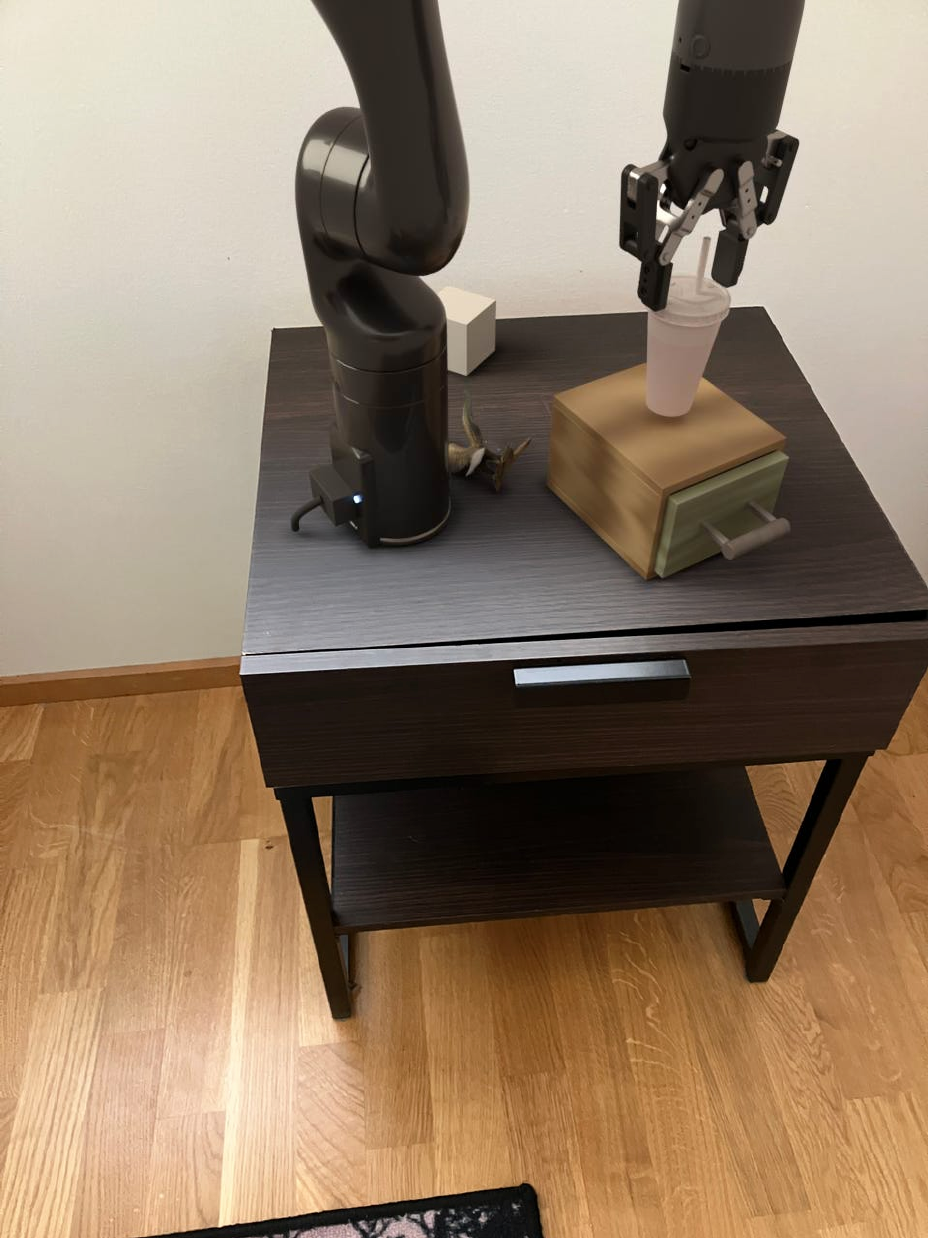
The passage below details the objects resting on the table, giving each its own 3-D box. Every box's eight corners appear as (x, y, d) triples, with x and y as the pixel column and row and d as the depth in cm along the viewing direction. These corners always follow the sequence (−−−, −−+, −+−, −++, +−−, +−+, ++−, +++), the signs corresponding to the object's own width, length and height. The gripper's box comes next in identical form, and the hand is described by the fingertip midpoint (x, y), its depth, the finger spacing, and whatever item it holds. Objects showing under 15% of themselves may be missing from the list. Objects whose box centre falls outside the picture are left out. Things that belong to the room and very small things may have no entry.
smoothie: (706, 430, 76) (744, 262, 66) (625, 421, 77) (651, 253, 67) (708, 386, 81) (744, 222, 71) (632, 377, 82) (657, 214, 72)
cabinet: (760, 528, 85) (787, 437, 78) (645, 580, 80) (663, 488, 73) (654, 442, 94) (670, 353, 87) (546, 485, 89) (553, 394, 82)
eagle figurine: (541, 455, 90) (473, 402, 93) (525, 425, 84) (453, 369, 87) (488, 516, 91) (422, 462, 94) (468, 491, 84) (398, 433, 87)
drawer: (802, 559, 81) (827, 485, 75) (695, 610, 77) (714, 535, 71) (667, 449, 91) (680, 377, 86) (567, 489, 87) (574, 416, 82)
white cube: (419, 360, 104) (417, 309, 100) (448, 335, 108) (447, 285, 103) (466, 376, 102) (466, 324, 98) (495, 350, 105) (496, 299, 101)
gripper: (776, 12, 65) (726, 252, 77) (604, 47, 60) (580, 297, 72) (860, 42, 60) (794, 291, 72) (682, 82, 55) (643, 343, 67)
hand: (688, 293), depth 72 cm, fingers closed on smoothie, 6 cm apart
